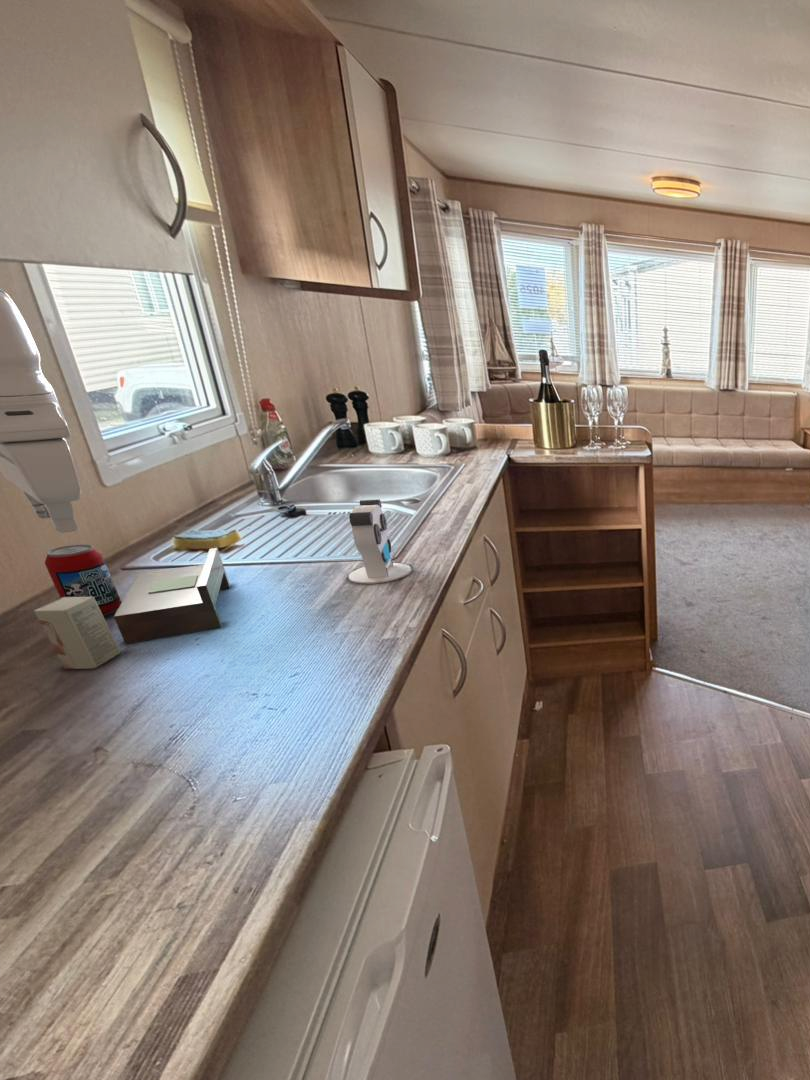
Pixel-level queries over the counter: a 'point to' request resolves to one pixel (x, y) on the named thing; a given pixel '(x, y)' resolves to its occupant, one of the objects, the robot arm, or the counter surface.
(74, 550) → the beverage can
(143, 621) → the shelf
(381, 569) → the panda figurine
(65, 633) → the cream cardboard box
